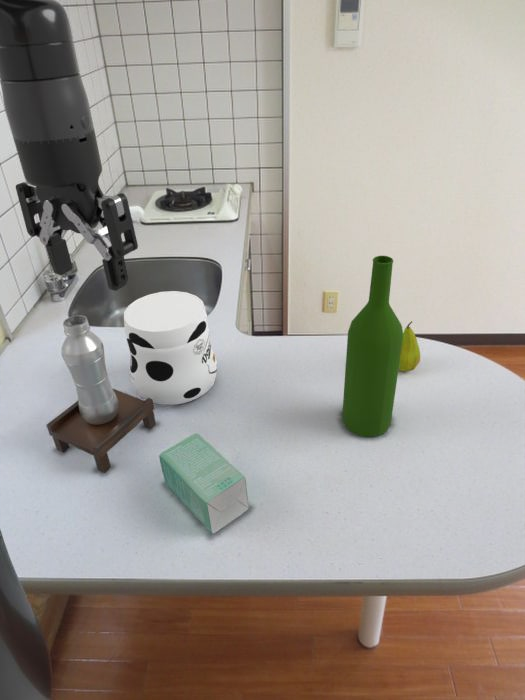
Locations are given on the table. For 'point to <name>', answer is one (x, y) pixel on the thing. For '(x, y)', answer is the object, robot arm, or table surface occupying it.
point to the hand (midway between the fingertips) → (90, 279)
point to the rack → (100, 428)
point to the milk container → (169, 348)
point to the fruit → (409, 351)
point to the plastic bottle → (88, 371)
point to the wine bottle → (373, 358)
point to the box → (205, 482)
